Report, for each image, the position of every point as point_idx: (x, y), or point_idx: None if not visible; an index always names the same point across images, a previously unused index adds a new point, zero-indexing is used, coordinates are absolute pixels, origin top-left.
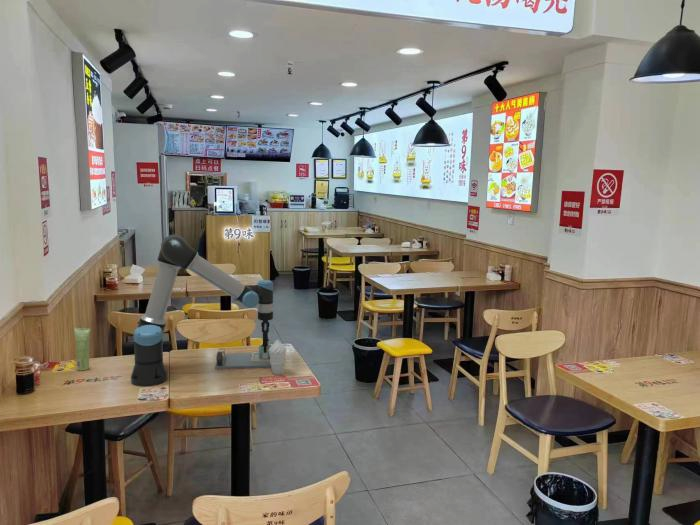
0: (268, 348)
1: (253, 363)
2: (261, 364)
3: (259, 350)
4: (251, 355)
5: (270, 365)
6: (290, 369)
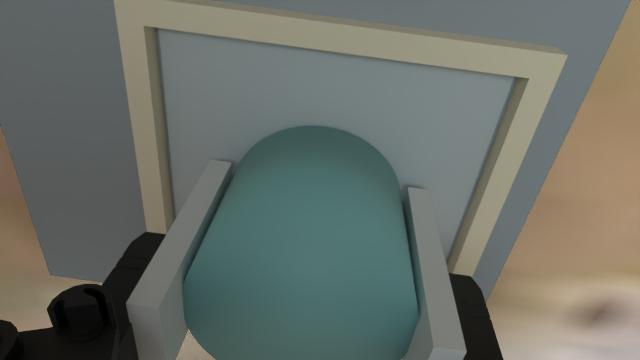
0: (200, 333)
1: (65, 15)
2: (42, 118)
3: (266, 191)
4: (472, 22)
5: (27, 205)
6: (36, 319)
